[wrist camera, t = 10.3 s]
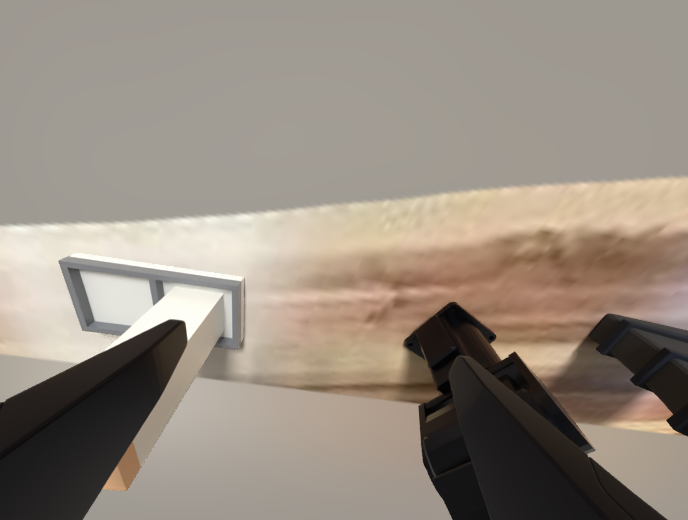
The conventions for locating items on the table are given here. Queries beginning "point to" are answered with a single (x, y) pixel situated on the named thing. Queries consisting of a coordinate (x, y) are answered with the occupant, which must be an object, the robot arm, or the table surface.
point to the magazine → (650, 360)
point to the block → (202, 333)
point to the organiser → (143, 293)
